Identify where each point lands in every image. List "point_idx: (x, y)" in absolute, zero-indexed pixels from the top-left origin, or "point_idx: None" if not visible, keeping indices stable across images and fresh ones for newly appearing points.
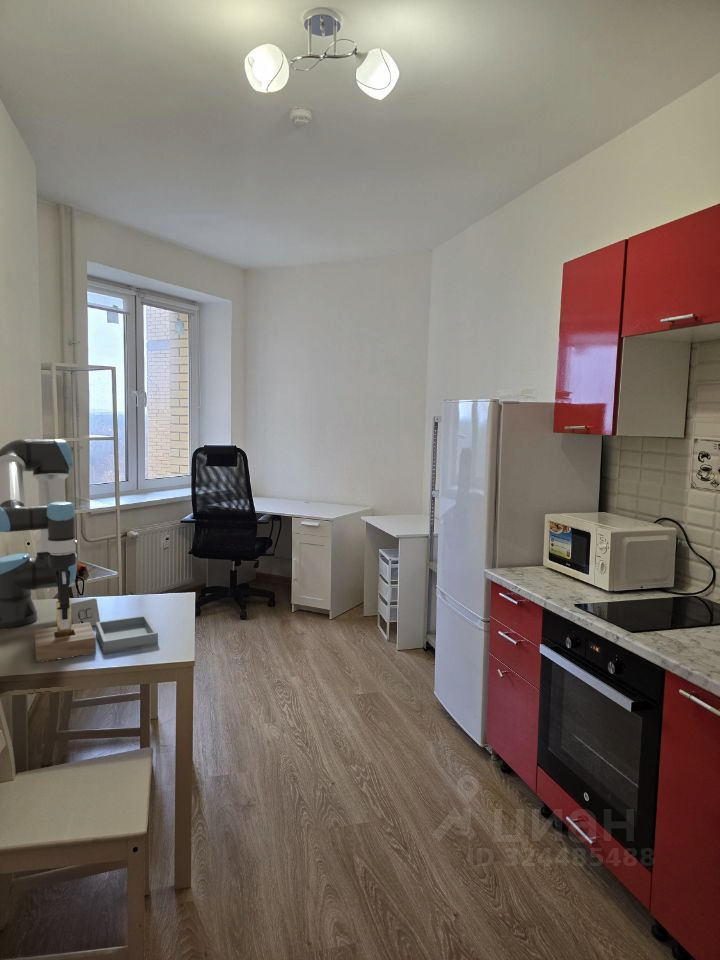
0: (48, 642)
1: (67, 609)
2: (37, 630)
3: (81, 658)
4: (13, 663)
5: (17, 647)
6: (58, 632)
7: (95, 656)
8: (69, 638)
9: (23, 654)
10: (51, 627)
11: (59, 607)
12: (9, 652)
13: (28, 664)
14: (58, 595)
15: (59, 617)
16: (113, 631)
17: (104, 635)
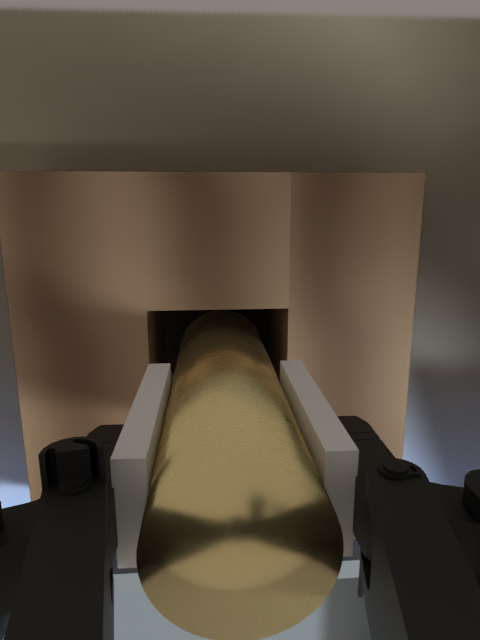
0: (56, 262)
1: (119, 536)
2: (396, 193)
3: (20, 417)
4: (95, 42)
5: (393, 74)
6: (197, 342)
7: (22, 484)
8: (88, 403)
9: (239, 108)
10: (414, 295)
11: (72, 479)
12: (321, 21)
13: (38, 133)
14: (426, 542)
15: (176, 402)
16: (340, 596)
17: (128, 590)
